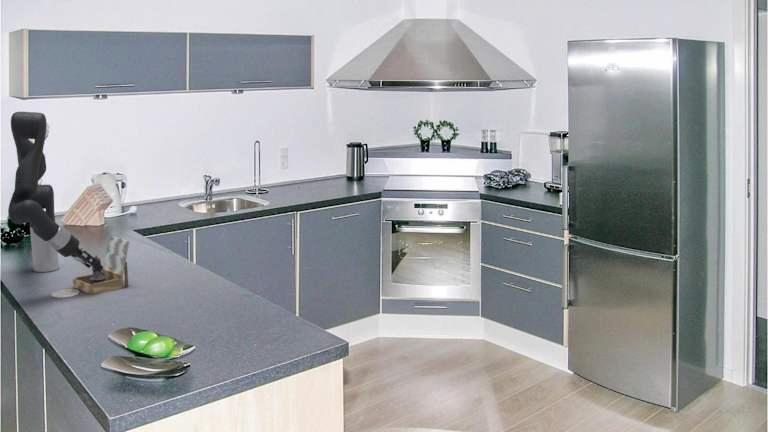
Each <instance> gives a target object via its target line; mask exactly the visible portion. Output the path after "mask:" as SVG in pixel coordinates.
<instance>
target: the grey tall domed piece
mask: <svg viewBox="0 0 768 432" xmlns="http://www.w3.org/2000/svg"><path fill="white" fill-rule="evenodd" d="M94 258H95V259H97V260H98V261H97V262H98V263H99V264H101V265H102V262H101V261H102V260H101V257H99V256H98V255H97V254H95V257H94ZM91 269H92V274H93V276H92V277H90V278H89V280H90V282H91V285H92V284H94V283H99V282H104V281H105V280H106V277H105V276H103V275H102V270H101V271H100V272H99V271H97V270H96V269H95V268H93V267H92V266H91Z"/></svg>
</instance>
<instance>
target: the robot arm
mask: <svg viewBox="0 0 768 432" xmlns="http://www.w3.org/2000/svg"><path fill="white" fill-rule="evenodd" d="M47 125H48V124H47V117H46V115H45V114H44V113H42V112H37V111H36V112H34V111H32V112H31V111H15V112H14V113H13V114H12V115H11V117H10V128H11V129H10V130H11V135H12V138H13V141H14V144H15V148H16V155H17V156H16V157H17V165H18V166H17V168H16V171H15V177H14V178H15V180H14V190H13V193H12V195H11V198H10V201H9V205H8V210H7V211H8V213H7V214H8V217H9V220H10V221H11V222H12V223H13V224H15V225H24V224H26V223H29V231H30V243H31V245H30V246H31V255H32V267H33V271H34V272H36V273H37V272H38V273H47V272H48V273H49V272H53V271H57V270H58V269H60V262H59V254H60V255H61V256H62V257H63V258H68V257H71V258H73V259H74V260H75V261H77V262H79V263H81V264H83V265H84V266H85V267H87V268H92V267H93V268H95V269H96V270H97V271H99V272H100V271H101V270H102V269H103V267H104V265H102V263H101V264H99V263H98V262H97V261H98V260H97V259H95V257H94V256H93V255H91V253H88V251H86V250H85V249H84V248H80V247H79V246H80V240H79V239H78V238H77V237H75V236H74V234H72V233H71V232H69V231H68V230H67V229H65V228H64V227H62V226H61V225H59V224H58V223H56V217H55V194H54V189H53V186H52V185H51V184H39V181H40V180H41V179H42V177H44V175H45V173H46V171H47V163H46V162H47V160H46V155H45V153H44V147H45V140H46V136H47ZM31 140H34V142H33V141H31Z"/></svg>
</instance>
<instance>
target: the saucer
mask: <svg viewBox="0 0 768 432" xmlns="http://www.w3.org/2000/svg"><path fill="white" fill-rule="evenodd" d="M79 294H80V290H79V289H77V288H67V289H58V290H54V291H53V292H52V293H51V297H52V298H56V299H57V298H59V299H64V298H71V297H72V298H73V297H75V295H76V296H78V295H79Z"/></svg>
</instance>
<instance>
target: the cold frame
mask: <svg viewBox="0 0 768 432" xmlns="http://www.w3.org/2000/svg"><path fill="white" fill-rule="evenodd" d="M129 244H130V241H129V240H126V239H122V238H119V237H116V236H113V235H108V240H107V247H106V251H105V256H104V261H103V269H102V275H103V276H105V277H106V280H105V281H104V282H99V283H94V284H91V282H90V280H89V278H90V277H92V276H93V273H92V274H85V275H80V276H75V278H73V279H72V285H73V286H72V287H73V289H76V290H79V291H80V292H81V291H82V292H84V293H87V294H88V295H96V294H101V293H105V292H106V293H107V292H110V291H115V290H120V289H124V287H126V288H127V286H128V287H129V275H128V274H129V273H128V262H127V261H126V260H127V255H128V250H129V249H128V248H129ZM123 275H124V279H123Z"/></svg>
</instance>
